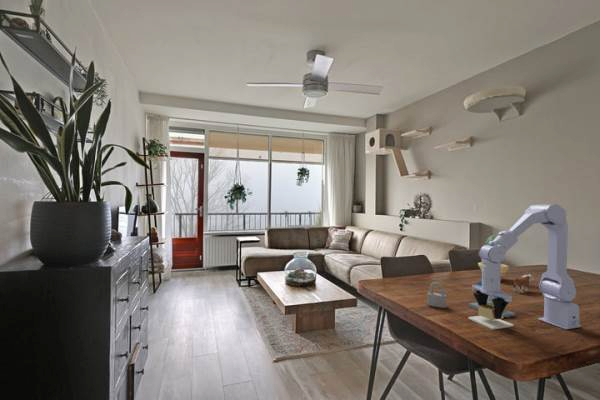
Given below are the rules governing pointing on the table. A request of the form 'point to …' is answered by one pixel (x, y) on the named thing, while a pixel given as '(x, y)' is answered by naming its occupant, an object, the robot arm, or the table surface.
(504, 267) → the potted cactus
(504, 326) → the mat
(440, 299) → the padlock
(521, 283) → the bull figurine
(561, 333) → the table surface
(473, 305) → the vise
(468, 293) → the table surface
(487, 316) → the sleeve
